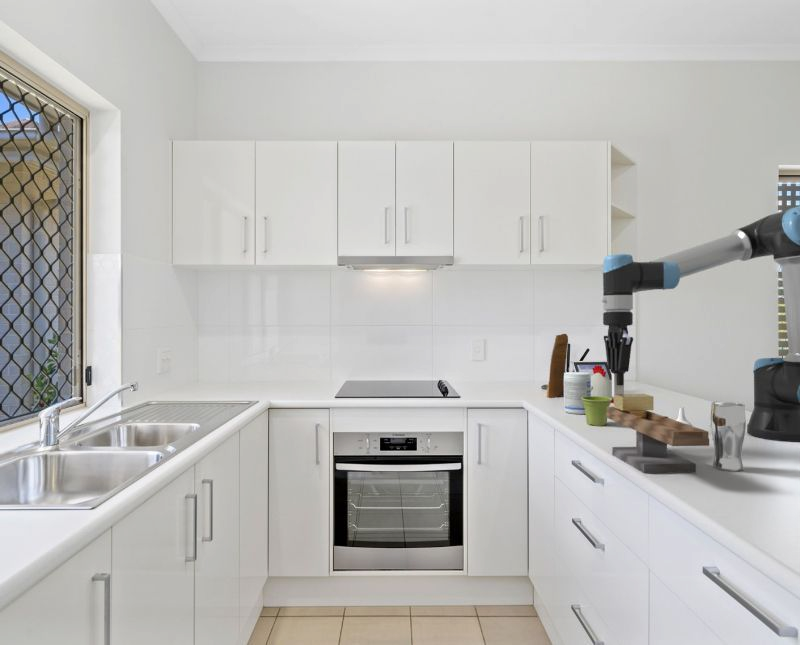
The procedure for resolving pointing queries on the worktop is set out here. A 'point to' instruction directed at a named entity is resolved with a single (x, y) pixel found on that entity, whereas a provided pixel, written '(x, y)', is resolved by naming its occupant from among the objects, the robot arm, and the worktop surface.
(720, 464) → the beer glass
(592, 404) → the plant pot
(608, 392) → the kitchen timer
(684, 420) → the garlic bulb
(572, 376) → the supplement tub
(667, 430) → the balance beam
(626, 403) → the brass rider
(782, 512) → the worktop surface
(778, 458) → the worktop surface
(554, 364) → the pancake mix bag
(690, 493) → the worktop surface
